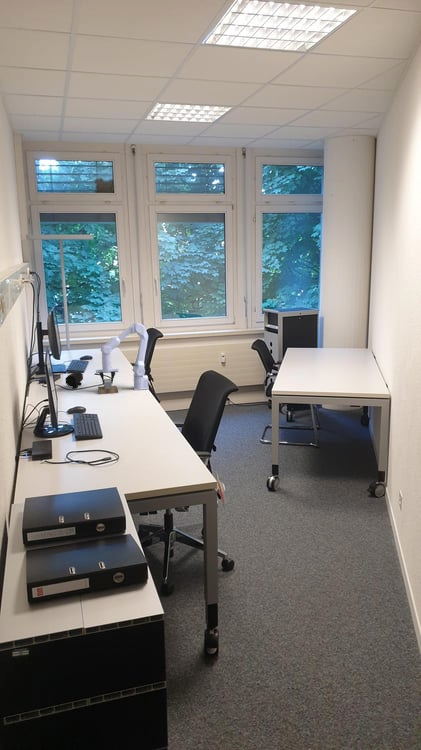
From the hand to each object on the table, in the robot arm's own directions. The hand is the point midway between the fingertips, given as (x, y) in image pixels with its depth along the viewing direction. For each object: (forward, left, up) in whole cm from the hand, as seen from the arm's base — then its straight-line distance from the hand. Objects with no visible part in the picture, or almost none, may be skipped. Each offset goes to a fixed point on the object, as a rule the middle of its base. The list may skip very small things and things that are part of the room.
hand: (107, 383), depth 357 cm
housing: (0, 0, -3) cm, 3 cm away
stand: (0, 0, -5) cm, 5 cm away
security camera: (+20, -18, -6) cm, 28 cm away
